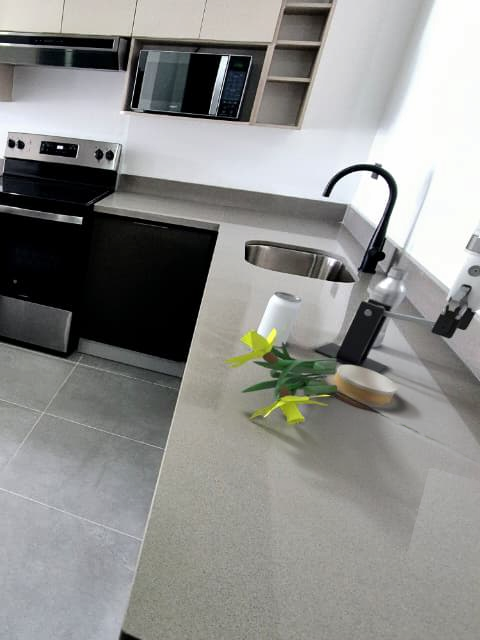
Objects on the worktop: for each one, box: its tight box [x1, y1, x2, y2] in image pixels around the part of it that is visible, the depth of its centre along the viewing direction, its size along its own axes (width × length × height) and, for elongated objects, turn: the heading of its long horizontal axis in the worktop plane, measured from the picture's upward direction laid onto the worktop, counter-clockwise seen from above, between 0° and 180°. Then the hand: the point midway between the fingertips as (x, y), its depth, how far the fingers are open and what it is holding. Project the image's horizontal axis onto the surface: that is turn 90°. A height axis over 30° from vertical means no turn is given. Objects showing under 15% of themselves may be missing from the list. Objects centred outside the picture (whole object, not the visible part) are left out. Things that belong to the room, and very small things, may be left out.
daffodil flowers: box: [222, 318, 338, 426], centre depth 89 cm, size 17×15×35 cm
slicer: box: [314, 298, 392, 374], centre depth 112 cm, size 12×9×15 cm
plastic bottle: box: [370, 266, 410, 349], centre depth 122 cm, size 6×7×20 cm
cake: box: [330, 364, 398, 414], centre depth 101 cm, size 14×14×4 cm
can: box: [256, 291, 302, 348], centre depth 117 cm, size 6×6×12 cm
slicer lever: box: [377, 305, 437, 328], centre depth 105 cm, size 15×6×2 cm, turn 35°
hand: (448, 331), depth 100 cm, fingers open, 9 cm apart
